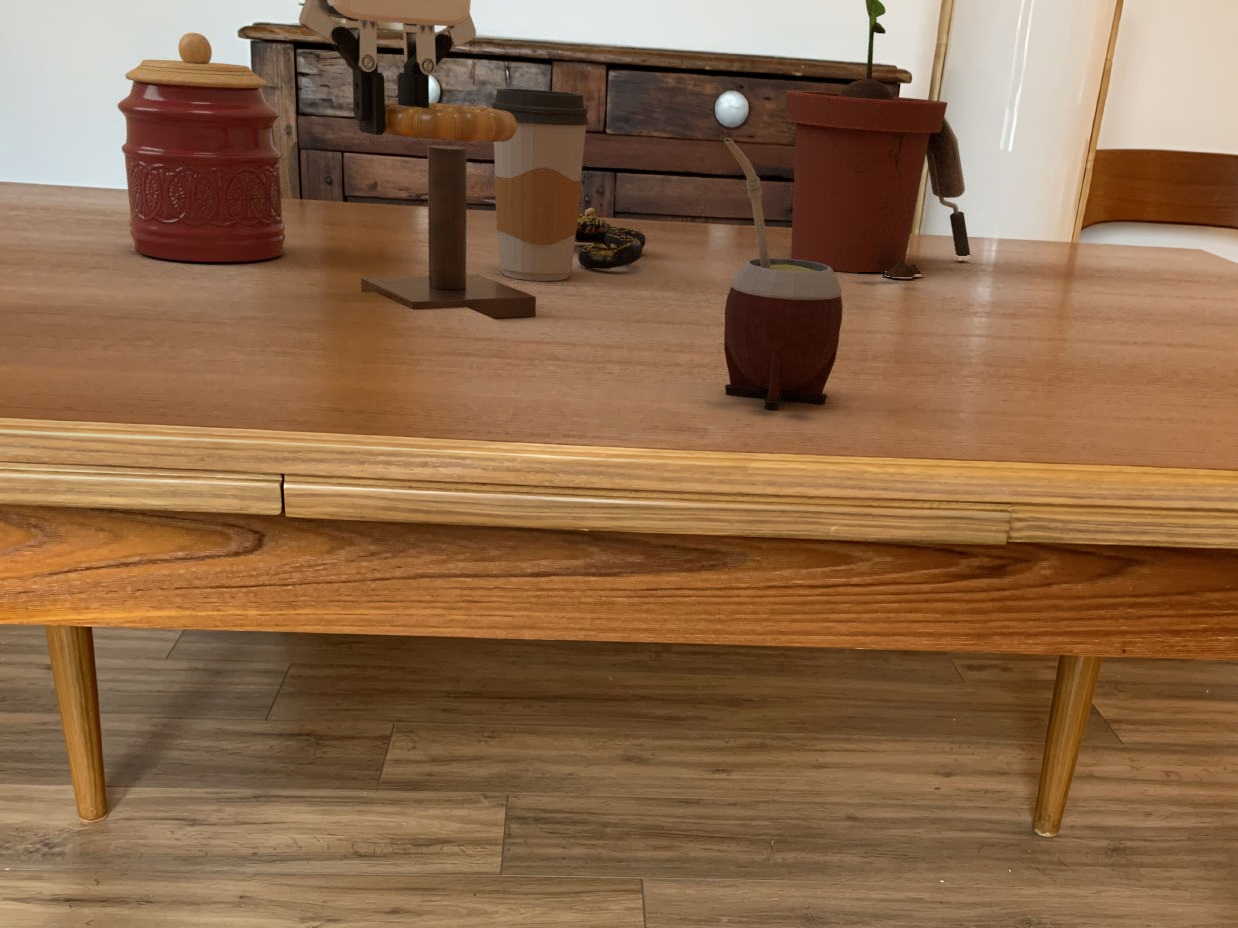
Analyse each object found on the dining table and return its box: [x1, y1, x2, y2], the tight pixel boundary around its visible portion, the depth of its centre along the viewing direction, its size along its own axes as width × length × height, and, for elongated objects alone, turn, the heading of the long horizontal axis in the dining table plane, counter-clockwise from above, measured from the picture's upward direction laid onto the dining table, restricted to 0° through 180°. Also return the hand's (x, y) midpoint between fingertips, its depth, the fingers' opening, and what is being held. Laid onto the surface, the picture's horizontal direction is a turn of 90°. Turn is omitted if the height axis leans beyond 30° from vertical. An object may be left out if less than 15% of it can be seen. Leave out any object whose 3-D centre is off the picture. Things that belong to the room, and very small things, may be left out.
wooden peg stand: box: [360, 145, 537, 319], centre depth 101 cm, size 10×10×12 cm
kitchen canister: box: [117, 32, 286, 263], centre depth 115 cm, size 13×13×18 cm
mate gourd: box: [723, 136, 843, 411], centre depth 80 cm, size 8×8×15 cm
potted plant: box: [785, 0, 971, 280], centre depth 133 cm, size 18×22×25 cm
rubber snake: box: [575, 207, 646, 270], centre depth 130 cm, size 18×5×10 cm
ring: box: [384, 100, 517, 143], centre depth 97 cm, size 10×10×2 cm
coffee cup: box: [491, 88, 589, 282], centre depth 116 cm, size 8×8×15 cm
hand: (391, 131), depth 96 cm, fingers closed on ring, 2 cm apart
